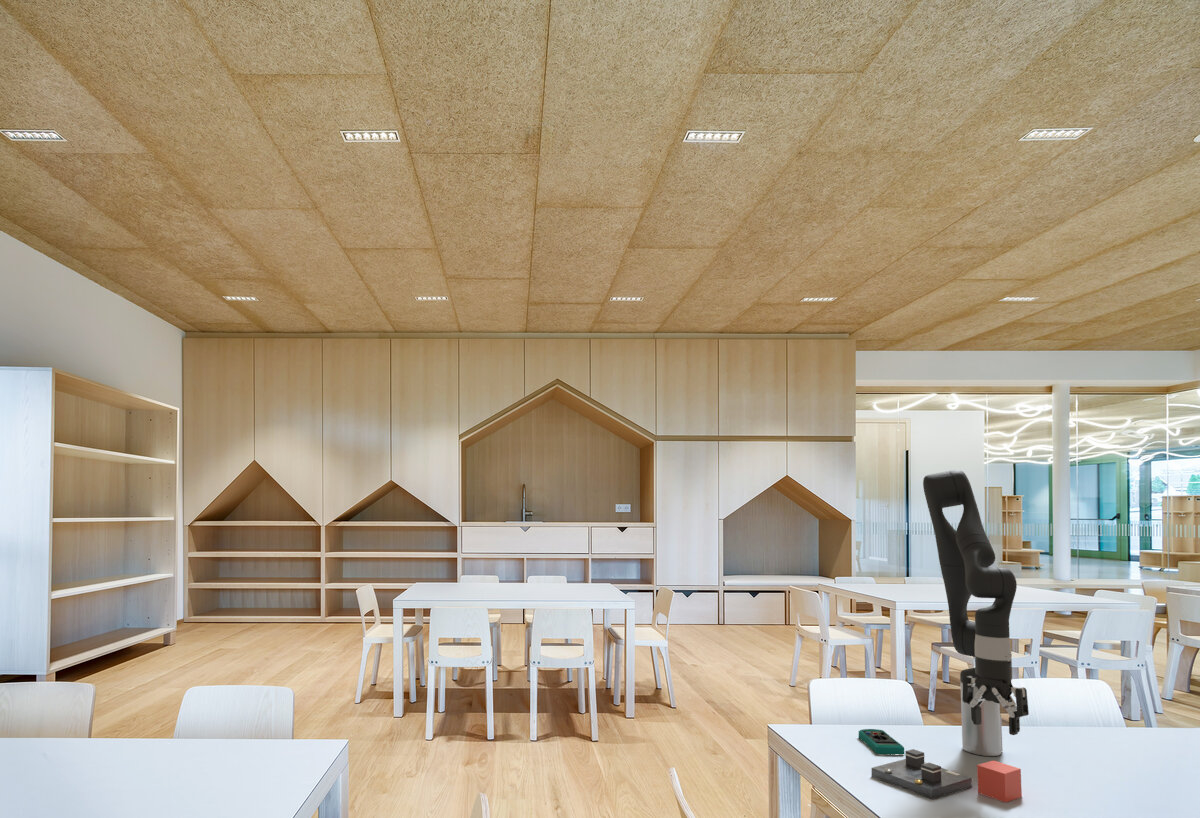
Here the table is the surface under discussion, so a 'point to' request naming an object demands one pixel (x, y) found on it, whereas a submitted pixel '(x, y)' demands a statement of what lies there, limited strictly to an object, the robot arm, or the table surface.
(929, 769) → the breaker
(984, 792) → the red cube
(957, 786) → the breaker panel
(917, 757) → the breaker
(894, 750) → the digital multimeter
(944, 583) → the robot arm
